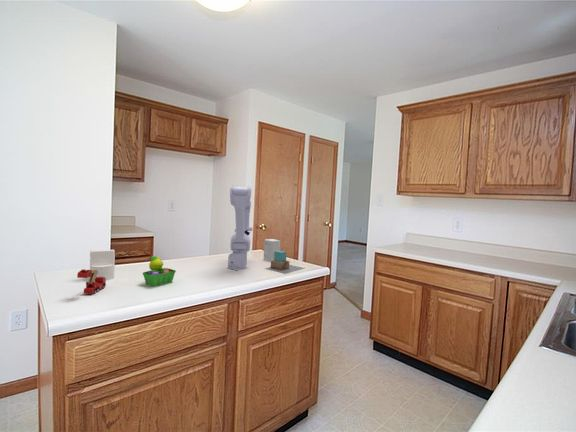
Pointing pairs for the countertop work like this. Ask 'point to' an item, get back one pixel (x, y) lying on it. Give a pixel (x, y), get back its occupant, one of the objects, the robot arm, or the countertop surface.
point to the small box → (270, 248)
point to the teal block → (280, 256)
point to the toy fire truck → (92, 281)
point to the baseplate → (291, 269)
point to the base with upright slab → (103, 263)
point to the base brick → (280, 265)
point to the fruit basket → (158, 273)
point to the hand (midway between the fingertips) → (243, 244)
